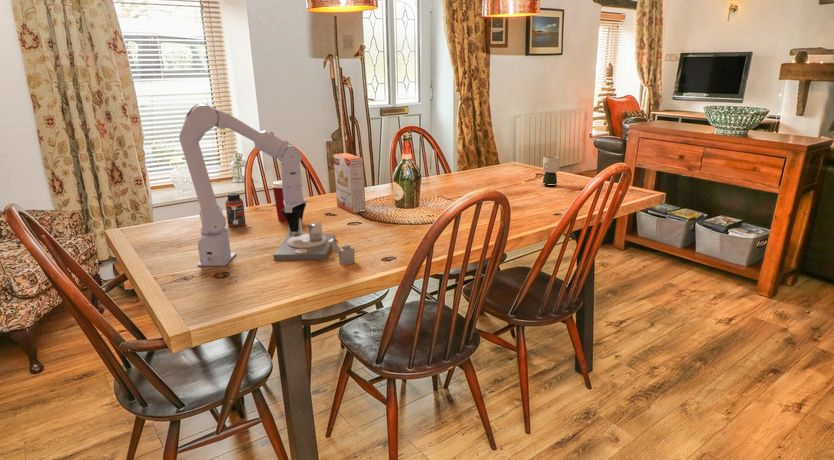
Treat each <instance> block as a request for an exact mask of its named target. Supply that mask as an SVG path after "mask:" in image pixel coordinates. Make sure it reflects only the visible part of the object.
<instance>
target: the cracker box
mask: <svg viewBox="0 0 834 460" xmlns="http://www.w3.org/2000/svg"><path fill="white" fill-rule="evenodd" d="M333 163H334V164H333V166H334V167H333V168H334V177H335V194H336V206H337V207H339V208H341V209H343V210H345V211H347V212H349V213H351V214H354V213H355V214H358V212H359V211H360V210H364V209H366V207H367V206H366V190H365V176H364V175H365V174H364V171H365V170H364V158H363V157H361V156H357V155H354V154H351V153H348V152H343V153H341V152H340V153H335V154H333ZM359 213H360V212H359Z"/></svg>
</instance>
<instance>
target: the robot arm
mask: <svg viewBox="0 0 834 460" xmlns="http://www.w3.org/2000/svg"><path fill="white" fill-rule="evenodd" d="M214 127H216V128H217V129H230V130H231V131H233V132H235V133H236V134H238V135H241V136H243V137H245V138H246V139H249V140H250V141H252V142H253V144H254V147H255V149H257V150H259V151H260V152H263V153H264V154H267V155H268V156H270V157H271V158H274V159H276V160H277V159H278V160H279V162H280V176H281V180H282V187H283V197H284V200H283V203H284V208H285V209H283V210H282V214H283V215H284V216H285V218H286V220H287V225H289V227H288V229H289V228H290V230H291V232H298V229H299V218H301V222H302V223H303V216H304V212H305V208H306V205H307V202H308V199H307V198H304V195H303V193H304V192H303V182H302V180H303V179H302V172H301V171H302V170H301V162H302V159H303V156H302V154H301V152H300V150H299V149H298V148H296V147H295V146H293V145H292V144H291V143H289V141H288V140H287V139H285V140H283V139H281V138H280V137H278V136H276V135H275V132H274V131H271V130H269V131H268V130H261V131H258V130H256V129H255V128H253V127H251V126H249V125H248V124H246V123H245V122H243V121H242V120H239V119H238V118H236V117H235V116H233V115H231V114H230V113H228V112H225V111H223V110H221V109H219V108H216V107H211V106H210V105H209V104H207V103H204V102H203V103H201V102H199V103H196V104H194V105H193V106H192V107H191V108H190V109H189V110H188V112H187V113H186V115H185V119H184V121H183V125H182V127H181V130H180V133H179V136H178V137H179V138H178V139H179V143H180V145H181V149H182V152H183V155H184V158H185V161H186V165H187V168H188V171H189V173H190V175H189V176H190V178H191V181H192V184H193V187H194V191H195V193H196V198H197V199H198V204H199V207H200V210H199V211H200V212H199V218H200V220H201V221H200V222H201V228H200V234H201V237H200V239H199V240H198V244H197V250H198V255H199V262H198V263H197V266H198V267H210V266H211V267H213V266H215V267H216V266H217V267H218V266H219V267H224V266H226V265H228V263H229V262H230V261H231V260H233V258H234V257H235V256H236V255H237V253H236V252H232V251H231V244H230V238H229V228H228V226H227V218H226V216H225V215H224V213H223V209H222V208H221V207H220V206H219V205H218V203H217V200H216V196H215V192H214V190H213V186H212V183H211V180H210V176H209V172H208V170H207V166H206V163H205V159H204V156H203V152H202V149H201V146H200V141H201V140H202V138H203V137H204V136H205V134H207V132H209V131H211V130H212V129H213V128H214Z"/></svg>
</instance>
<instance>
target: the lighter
mask: <svg viewBox="0 0 834 460" xmlns="http://www.w3.org/2000/svg"><path fill="white" fill-rule="evenodd" d="M328 242H329V244H330V245H331V249H332V250H333V253H335V254H338V260H339V265H341V266H346V265H349V263H350V264H353V262H354V263H356V261H355V260H356V258H355V256H356V255H355V248H354V246H351V245H350V244H344V245H342V248H340V247H339V245H338V244H337V242H336V239H335V240H334V239H330V240H329V241H328Z"/></svg>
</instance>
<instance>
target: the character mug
mask: <svg viewBox="0 0 834 460" xmlns="http://www.w3.org/2000/svg"><path fill="white" fill-rule="evenodd" d="M560 158H561V157H560V156H556V155H545V156H543V158H542V171H543V172H544V175H543V179H542V184H543V183H545V184H556V183H557V184H558V178H557V173H558V172H559V170H560Z"/></svg>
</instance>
